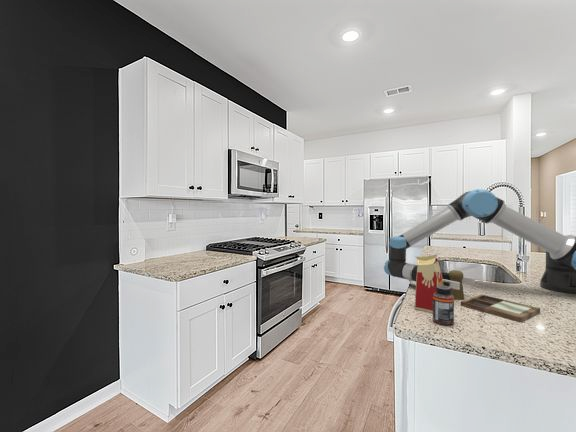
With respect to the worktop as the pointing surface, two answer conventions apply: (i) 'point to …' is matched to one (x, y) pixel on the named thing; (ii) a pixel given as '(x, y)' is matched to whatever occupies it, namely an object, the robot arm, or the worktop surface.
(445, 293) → the supplement bottle
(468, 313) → the worktop surface
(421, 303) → the milk carton
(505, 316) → the board
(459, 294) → the cork
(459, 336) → the worktop surface
